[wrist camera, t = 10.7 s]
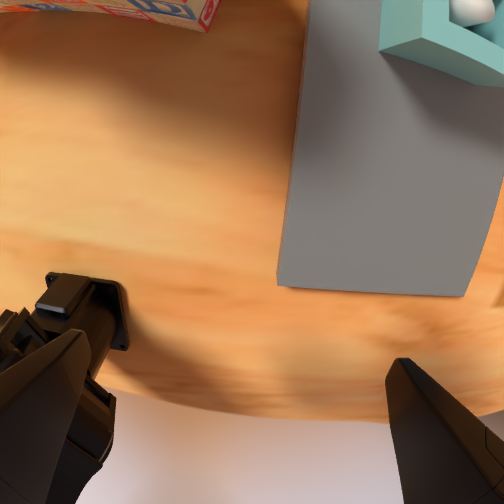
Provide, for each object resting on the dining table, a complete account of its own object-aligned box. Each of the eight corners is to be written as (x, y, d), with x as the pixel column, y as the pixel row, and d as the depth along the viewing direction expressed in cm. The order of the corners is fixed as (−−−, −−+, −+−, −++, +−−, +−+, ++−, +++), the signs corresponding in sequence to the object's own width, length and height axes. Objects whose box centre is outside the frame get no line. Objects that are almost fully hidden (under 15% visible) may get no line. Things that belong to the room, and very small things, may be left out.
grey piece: (454, 285, 21) (492, 334, 16) (276, 273, 21) (281, 334, 16) (502, -16, 10) (555, -28, 5) (313, -88, 10) (330, -139, 5)
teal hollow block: (475, 84, 13) (530, 90, 9) (378, 50, 13) (421, 37, 9) (477, -6, 10) (527, -20, 6) (383, -46, 10) (419, -81, 6)
